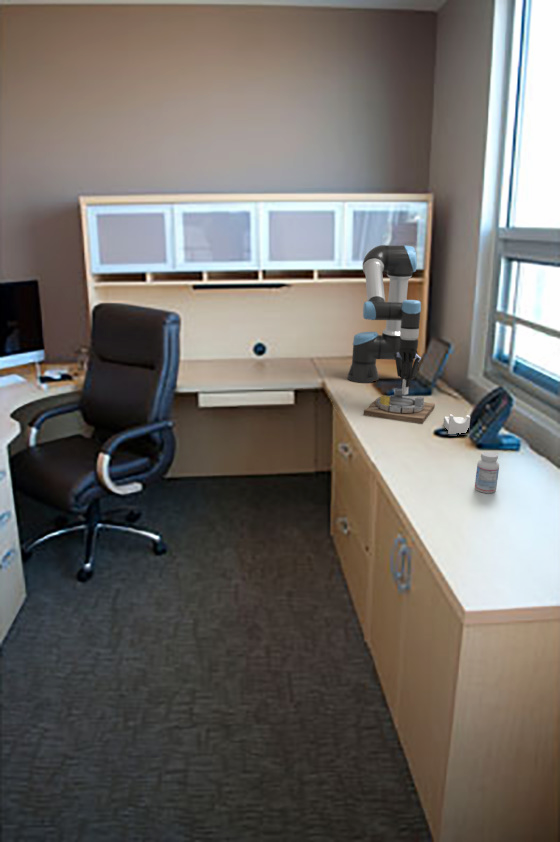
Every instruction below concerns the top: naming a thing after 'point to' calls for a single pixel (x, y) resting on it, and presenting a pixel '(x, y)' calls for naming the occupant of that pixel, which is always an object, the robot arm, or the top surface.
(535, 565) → the top surface
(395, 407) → the grey block ring
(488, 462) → the pill bottle
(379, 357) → the robot arm
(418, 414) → the walnut base
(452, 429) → the bracket
